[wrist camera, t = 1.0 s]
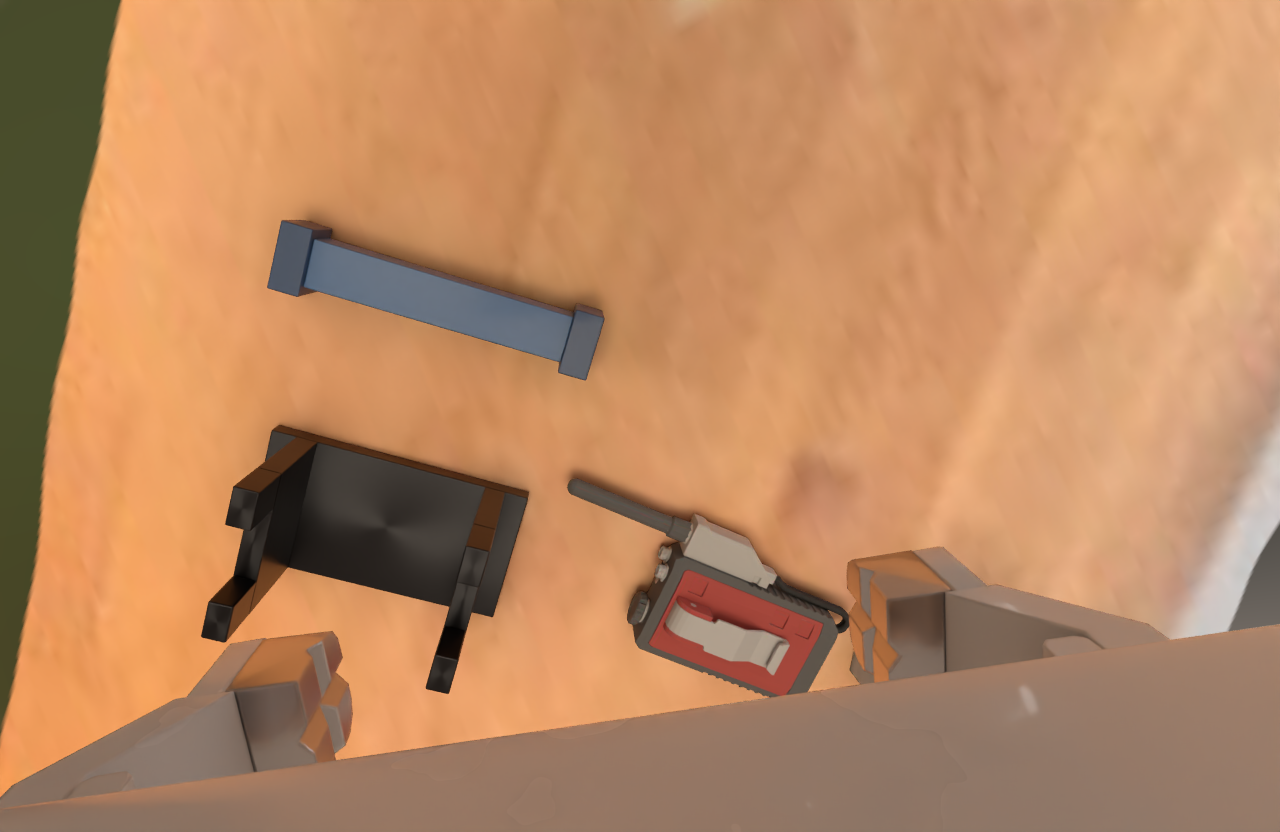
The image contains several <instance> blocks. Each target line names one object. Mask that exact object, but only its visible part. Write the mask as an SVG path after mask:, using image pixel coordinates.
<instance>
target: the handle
mask: <svg viewBox="0 0 1280 832" xmlns="http://www.w3.org/2000/svg"><path fill="white" fill-rule="evenodd" d="M331 234H332V228H328V227H325V226H322V225H319V224H315V223H312V222H309V221H305V220H282V221H281V226H280V230H279V235H278V240H277V244H276V249H275V253H274V258H273V263H272V267H271V272H270V277H269V281H268V286H267V288H269V289H272V290H275V291H279V292H282V293H286V294H289V295H293V296H296V297H299V296H302V295H306V294H309V293H313V292H316V291H318V292H322V293H325V294H329V295H332V296H335V297H339V298H342V299H346V300H349V301H352V302H356V303H359V304H363V305H366V306H370V307H373V308H376V309H380V310H383V311H387V312H390V313H393V314H397V315H400V316H404V317H407V318H411V319H414V320H417V321H421V322H424V323H428V324H431V325H434V326H438V327H441V328H445V329H448V330H452V331H455V332H458V333H462V334H465V335H469V336H472V337H475V338H479V339H482V340H486V341H489V342H493V343H496V344H499V345H503V346H506V347H510V348H513V349H516V350H520V351H523V352H527V353H530V354H534V355H537V356H540V357H544V358H547V359H551V360H554V361H557V362H559V367H558V373H561V374H564V375H568V376H571V377H575V378H578V379H582V380H586V379H587V375H588V372H589V369H590V365H591V362H592V359H593V356H594V352H595V349H596V346H597V342H598V339H599V336H600V332H601V329H602V326H603V322H604V315H603V312H602V311H601V310H598V309H595V308H591V307H588V306H585V305H581V304H578V303H576V305H575V309H574V312H572V311H568V310H565V309H562V308H558V307H555V306H552V305H549V304H545V303H542V302H539V301H535V300H532V299H529V298H525V297H522V296H519V295H515V294H512V293H509V292H506V291H502V290H499V289H496V288H492V287H489V286H486V285H482V284H479V283H476V282H472V281H469V280H466V279H463V278H459V277H456V276H453V275H449V274H446V273H443V272H439V271H436V270H433V269H430V268H426V267H423V266H420V265H416V264H413V263H410V262H406V261H403V260H400V259H396V258H393V257H390V256H387V255H383V254H380V253H377V252H373V251H370V250H367V249H363V248H360V247H357V246H353V245H350V244H347V243H344V242H340V241H337V240H334V239H330V238H331Z"/></svg>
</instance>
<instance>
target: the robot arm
mask: <svg viewBox="0 0 1280 832" xmlns="http://www.w3.org/2000/svg"><path fill="white" fill-rule="evenodd" d="M847 589H848V590H849V591H850V593H851V594H852V595H853V597H854V598H855V600H856V603H855V604H854V606H853V607H852V609H851V611H850V612H849V626H850V635H851V640H852V644H853V649H854V652H855V655H856V657H857V660H858V662H859V664H860V665H861V667H862V668H863V670H864V671H865V672H867V673H870V674H872V675H874V683H869V684H862V685H855V686H848V687H841V688H834V689H827V690H820V691H813V692H806V693H799V694H792V695H785V696H778V697H771V698H765V699H758V700H751V701H744V702H737V703H730V704H723V705H716V706H709V707H702V708H695V709H688V710H681V711H674V712H668V713H661V714H654V715H647V716H640V717H633V718H626V719H619V720H612V721H605V722H598V723H591V724H584V725H577V726H571V727H564V728H557V729H550V730H543V731H536V732H529V733H522V734H515V735H508V736H501V737H494V738H487V739H480V740H474V741H467V742H460V743H453V744H446V745H439V746H432V747H425V748H418V749H411V750H404V751H397V752H390V753H383V754H377V755H370V756H363V757H356V758H349V759H342V760H336V758H335V753H336V752H337V751H339V750H340V749H341V748H343V747H344V746H345V745H346V743H347V740H348V737H349V735H350V732H351V724H352V715H353V713H352V699H351V694H350V689H349V684H348V683H347V682H346V681H345V680H344V679H343V678H342V677H340V676H339V675H338V674H337V673H336V670H337V668H338V666H339V664H340V662H341V660H342V658H343V657H342V653H341V649H340V645H339V641H338V638H337V636H336V635H335V634H334V633H333V631H329V632H321V633H312V634H304V635H295V636H287V637H279V638H270V639H266V638H262V639H256V640H250V641H244V642H238V643H232V644H230V645H229V646H228V647H227V648H226V650H225V651H224V652H223V653H222V655H221V656H220V657H219V658H218V659H217V661H216V662H215V663H214V664H213V666H212V667H211V668H210V669H209V670H208V672H207V673H206V674H205V675H204V676H203V678H202V679H201V680H200V681H199V683H198V684H197V685H196V686H195V687H194V689H193V690H192V691H191V692H190V694H189V695H188V696H187V697H186V698H179V699H175V700H173V701H171V702H169V703H167V704H165V705H163V706H161V707H159V708H158V709H156V710H154V711H152V712H150V713H148V714H146V715H144V716H142V717H141V718H139V719H137V720H135V721H133V722H131V723H129V724H127V725H126V726H124V727H122V728H120V729H118V730H116V731H114V732H112V733H110V734H109V735H107V736H105V737H103V738H101V739H99V740H97V741H95V742H93V743H92V744H90V745H88V746H86V747H84V748H82V749H80V750H78V751H76V752H75V753H73V754H71V755H69V756H67V757H65V758H63V759H61V760H59V761H58V762H56V763H54V764H52V765H50V766H48V767H46V768H44V769H42V770H41V771H39V772H37V773H35V774H33V775H31V776H29V777H27V778H25V779H24V780H22V781H20V782H18V783H16V784H14V785H12V786H11V787H10V788H9V789H8V790H7V791H6V792H5V793H4V794H3V795H2V796H1V797H0V832H1280V624H1278V625H1271V626H1264V627H1257V628H1251V629H1244V630H1236V631H1229V632H1222V633H1215V634H1208V635H1202V636H1195V637H1188V638H1181V639H1174V640H1170V639H1169V638H1167V637H1166V636H1164V635H1163V634H1162V633H1160V632H1159V631H1157V630H1156V629H1155V628H1153V627H1152V626H1150V625H1149V624H1147V623H1143V622H1139V621H1135V620H1131V619H1128V618H1124V617H1120V616H1116V615H1112V614H1108V613H1104V612H1101V611H1097V610H1093V609H1089V608H1085V607H1081V606H1077V605H1074V604H1070V603H1066V602H1062V601H1058V600H1054V599H1050V598H1047V597H1043V596H1039V595H1035V594H1031V593H1027V592H1023V591H1020V590H1016V589H1012V588H1008V587H1004V586H1000V585H991V586H987V585H986V584H985V583H984V582H983V581H981V580H980V579H979V578H978V577H977V576H976V575H975V574H973V573H972V572H971V571H970V570H969V569H968V568H966V567H965V566H964V565H963V564H962V563H961V562H960V561H958V560H957V559H956V558H955V557H954V556H953V555H952V554H950V553H949V552H948V551H947V550H946V549H945V548H944V547H933V548H927V549H921V550H916V551H911V550H910V551H904V552H898V553H891V554H885V555H879V556H873V557H866V558H860V559H854V560H851V561H850V562H848V565H847Z"/></svg>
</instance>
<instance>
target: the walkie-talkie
mask: <svg viewBox="0 0 1280 832" xmlns="http://www.w3.org/2000/svg"><path fill="white" fill-rule="evenodd" d="M567 488H568V491H569V493H570V494H572V495H574V496H577V497H579V498H581V499H584V500H586V501H589V502H591V503H594V504H596V505H598V506H601V507H603V508H606V509H608V510H611V511H613V512H615V513H618V514H620V515H623V516H625V517H628V518H630V519H633V520H635V521H637V522H640V523H642V524H645V525H647V526H650V527H652V528H654V529H657V530H659V531H662V532H664V533H666V536H668V537H670V538H673V539H675V540H678V541H680V542H679V543H675V544H671V546H669V547H665V546H662V547H661V548H660V550H659V553H658V558H659V559H662V560H663V562H662V564H658V566H657V568H656V570H655V578H654V580H653V582H652V584H651V587H650V589H649V591H648V593H646V592H643V591H639V592H637V593H636V594H635V596H634V597H633V599H632V601H631V604H630V607H629V610H628V614H627V620H628V623H630V624H632V625H633V631H634V637H635V642H636V644H637V646H638V647H639V648H640V649H642V650H645V651H647V652H650V653H653V654H655V655H658V656H661V657H663V658H666V659H668V660H671V661H674V662H676V663H679V664H681V665H684V666H687V667H689V668H692V669H695V670H697V671H700V672H702V673H703V672H706V673H708V675H714V676H716V678H721V679H723V680H724V681H729V682H731V684H737V685H739V687H745V688H747V690H753V691H754V692H755V693H761V694H762V695H763V696H765V695H766V696H769V698H771V697H778V696H785V695H792V694H799V693H806V692H808V690H809V688H810V686H811V685H812V683H813V681H814V679H815V677H816V675H817V674H818V672H819V670H820V668H821V666H822V665H823V663H824V661H825V659H826V657H827V655H828V654H829V652H830V650H831V648H832V646H833V644H834V643H835V640H836V638H837V634H838V633H842V632H845V631H846V629H847V628H848V627H849V615H848V614H847V612H846V611H845V610H844V609H843V608H841V607H840V606H837V605H835V604H833V603H830V602H828V601H825V600H823V599H820V598H818V597H815V596H813V595H811V594H808V593H806V592H803V591H801V590H798V589H796V588H794V587H791V586H789V585H787V584H786V583H784V582H783V581H782V580H781V578H780V577H779V576H777V575H776V573H775V571H774V569H773V568H771V567H768V566H766V565H764V564H762V563H761V561H760V560H759V558H758V556H757V554H756V552H755V550H754V548H753V547H752V545H751V543H750V541H749V539H748V538H746V537H744V536H741V535H739V534H736V533H734V532H732V531H729V530H727V529H725V528H722V527H720V526H717V525H715V524H713V523H710V522H708V521H706V519H705V518H704V517H702V516H699V515H697V514H693V516H692V518H691V520H690V522H688V521H685V520H683V519H681V518H678V517H676V516H673V517H670V516H668V515H665V514H663V513H660V512H658V511H655V510H653V509H651V508H648V507H646V506H643V505H641V504H638V503H636V502H633V501H631V500H629V499H626V498H624V497H621V496H619V495H616V494H614V493H612V492H609V491H607V490H604V489H602V488H599V487H597V486H594V485H592V484H590V483H587V482H585V481H582V480H580V479H572V480H571V481H570V482H569V483H568V487H567ZM774 582H775V583H774ZM828 610H829V611H832V612H834V613H837V614H839V615H841V616H842V617H843V620H842V621H841V622H840V623H839V624H835V623H834V620H833V618H832V616H831V615H830V613H829V612H828Z"/></svg>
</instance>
